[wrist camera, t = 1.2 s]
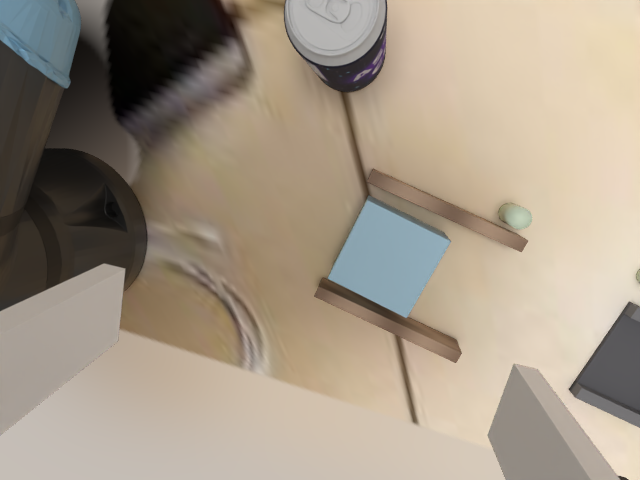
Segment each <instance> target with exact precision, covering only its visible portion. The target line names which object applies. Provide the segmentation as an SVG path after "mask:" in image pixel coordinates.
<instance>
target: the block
mask: <svg viewBox="0 0 640 480" xmlns="http://www.w3.org/2000/svg"><path fill="white" fill-rule="evenodd" d="M450 242H451V241H450V240H449V238H448V237H447V236H446V235H445V233H444V232H442V231H440V230H438V229H436V228H434V227H432V226H430V225H428V224H426V223H424V222H422V221H420V220H418V219H416V218H414V217H412V216H410V215H408V214H406V213H404V212H402V211H400V210H398V209H396V208H394V207H392V206H390V205H388V204H386V203H384V202H382V201H380V200H378V199H376V198H373V197H371V196H368V198H367V200H366V202H365V204H364V205H363V207H362V209H361V211H360V213H359V215H358V217H357V219H356V221H355V223H354V225H353V227H352V229H351V231H350V233H349V235H348V237H347V239H346V241H345V243H344V245H343V247H342V249H341V251H340V253H339V255H338V257H337V259H336V261H335V263H334V265H333V267H332V269H331V272H330V274H329V277H328V279H330V280H332V281H334V282H336V283H338V284H340V285H342V286H344V287H346V288H348V289H349V290H351V291H353V292H355V293H357V294H359V295H361V296H363V297H365V298H367V299H369V300H371V301H373V302H375V303H377V304H379V305H381V306H383V307H385V308H387V309H389V310H391V311H393V312H395V313H397V314H399V315H401V316H403V317H405V318H407V317H408V315H409V313H410V311H411V310H412V308H413V306H414V304H415V303H416V301H417V299H418V298H419V296H420V294H421V292H422V291H423V289H424V287H425V285H426V284H427V282H428V280H429V279H430V277H431V275H432V273H433V272H434V270H435V268H436V266H437V265H438V263H439V261H440V260H441V258H442V256H443V254H444V253H445V251H446V249H447V247H448V246H449V244H450Z"/></svg>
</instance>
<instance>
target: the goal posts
mask: <svg viewBox="0 0 640 480" xmlns="http://www.w3.org/2000/svg"><path fill="white" fill-rule="evenodd" d="M498 215H499V218H500V219H501V220H502V221H503V222H505V223H507V224H508V225H510V226H512V227H513V228H515V229H525V228H527V227H528V226H529V225H530V224H531V222H532V215H531V213H530V211H528V210H527V209H525V208H522V207H520V206H517V205H515V204H512V203H507V204H504V205H503V206H501V208H500V209H499V212H498ZM636 277H637V280H638V282H639V283H640V270H639V271H638V272H637V276H636Z"/></svg>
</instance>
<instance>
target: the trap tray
mask: <svg viewBox="0 0 640 480" xmlns="http://www.w3.org/2000/svg"><path fill="white" fill-rule="evenodd" d="M569 390H570V391H571V393H572V394H573V395H574V397H575V398H577V399H580V400H582V401H584V402H586V403H588V404H590V405H592V406H595V407H597V408H599V409H601V410H603V411H605V412H607V413H610V414H612V415H614V416H616V417H618V418H620V419H622V420H624V421H627V422H629V423H631V424H633V425H635V426H637V427H639V428H640V307H639V306H637V305H635V304H633V303H631V302H629V303H628V305H627V306H626V308H625V309H624V310H623V312H622V313H621V315H620V316H619V318H618V319H617V321H616V322H615V324H614V325H613V326H612V328H611V329H610V331H609V332H608V334H607V335H606V337H605V338H604V340H603V341H602V342H601V344H600V345H599V347H598V348H597V350H596V351H595V353H594V354H593V355H592V357H591V358H590V360H589V361H588V363H587V364H586V366H585V367H584V369H583V370H582V371H581V373H580V374H579V376H578V377H577V379H576V380H575V382H574V383H573V385H572V386H571V387H570V389H569Z"/></svg>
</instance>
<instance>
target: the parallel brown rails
mask: <svg viewBox="0 0 640 480" xmlns="http://www.w3.org/2000/svg"><path fill="white" fill-rule="evenodd" d="M367 182H368V183H370V184H373V185H375V186H377V187H379V188H381V189H384V190H386V191H388V192H390V193H392V194H395V195H397V196H399V197H401V198H403V199H406V200H408V201H410V202H412V203H414V204H417V205H419V206H421V207H423V208H425V209H427V210H430V211H432V212H434V213H436V214H438V215H441V216H443V217H445V218H447V219H449V220H452V221H454V222H456V223H458V224H460V225H463V226H465V227H467V228H469V229H471V230H474V231H476V232H478V233H480V234H482V235H485V236H487V237H489V238H491V239H493V240H496V241H498V242H500V243H502V244H504V245H507V246H509V247H511V248H513V249H515V250H518V251H520V252H522V251H523V249H524V247H525V246H526V244H527V242H528V240H526V239H525V238H523V237H521V236H520V235H518V234H516V233H514V232H512V231H510V230H507V229H505V228H503V227H501V226H499V225H496V224H494V223H492V222H490V221H487V220H485V219H483V218H481V217H479V216H476V215H474V214H472V213H470V212H468V211H465V210H463V209H461V208H459V207H457V206H454V205H452V204H450V203H448V202H446V201H443V200H441V199H439V198H437V197H434V196H432V195H430V194H428V193H426V192H423V191H421V190H419V189H417V188H415V187H412V186H410V185H408V184H406V183H404V182H401V181H399V180H397V179H395V178H393V177H390V176H388V175H386V174H384V173H382V172H379V171H377V170H375V169H373V170H372V172H371V174H370V177H369V179H368V181H367ZM314 297H316V298H319V299H321V300H323V301H325V302H327V303H329V304H331V305H333V306H336V307H338V308H340V309H342V310H344V311H346V312H348V313H350V314H353V315H355V316H357V317H359V318H361V319H363V320H365V321H367V322H370V323H372V324H374V325H376V326H378V327H380V328H382V329H384V330H387V331H389V332H391V333H393V334H395V335H397V336H399V337H402V338H404V339H406V340H408V341H410V342H412V343H414V344H416V345H419V346H421V347H423V348H425V349H427V350H429V351H431V352H433V353H436V354H438V355H440V356H442V357H444V358H446V359H448V360H450V361H453V362H455V363H456V362H457V360H458V359H459V357H460V355H461V354H462V353H461V350H460V348H459V345H458V342H457V340H456V339H453V338H451V337H449V336H447V335H445V334H443V333H441V332H439V331H436V330H434V329H432V328H430V327H428V326H426V325H424V324H421V323H419V322H417V321H415V320H413V319H411V318H409V317H407V318H405V317H403V316H401V315H399V314H397V313H395V312H393V311H391V310H389V309H387V308H385V307H383V306H381V305H379V304H377V303H375V302H373V301H371V300H369V299H367V298H365V297H363V296H361V295H359V294H357V293H355V292H353V291H351V290H349V289H347V288H344V287H342V286H340V285H338V284H336V283H334V282H332V281H329V280H327V279H325V278H322V280H321V282H320V284H319V287H318V289H317V291H316V293H315V295H314Z"/></svg>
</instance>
